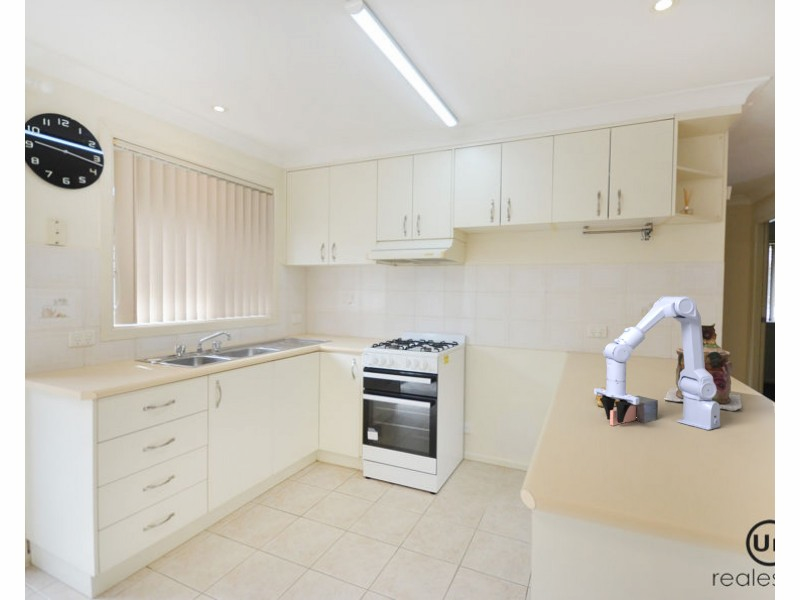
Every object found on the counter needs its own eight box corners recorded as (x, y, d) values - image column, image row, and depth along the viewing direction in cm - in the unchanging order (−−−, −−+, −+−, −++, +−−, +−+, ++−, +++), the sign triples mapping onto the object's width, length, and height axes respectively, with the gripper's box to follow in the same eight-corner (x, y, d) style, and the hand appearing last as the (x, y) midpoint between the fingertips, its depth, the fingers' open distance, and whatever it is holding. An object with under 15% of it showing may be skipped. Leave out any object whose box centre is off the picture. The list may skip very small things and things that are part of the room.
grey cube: (657, 419, 139) (657, 400, 139) (643, 423, 135) (644, 403, 135) (637, 414, 145) (638, 395, 145) (624, 417, 141) (624, 398, 141)
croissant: (606, 419, 151) (618, 402, 148) (583, 401, 157) (593, 385, 154) (626, 407, 165) (636, 391, 162) (603, 391, 172) (613, 376, 169)
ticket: (636, 419, 138) (636, 405, 138) (612, 425, 132) (613, 411, 132) (633, 419, 139) (633, 405, 139) (609, 424, 133) (610, 410, 133)
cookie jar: (669, 390, 182) (671, 319, 181) (740, 400, 166) (743, 323, 166) (662, 401, 163) (664, 322, 162) (742, 413, 147) (745, 326, 147)
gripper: (588, 376, 137) (587, 416, 138) (630, 385, 125) (629, 429, 125) (601, 374, 141) (600, 413, 141) (643, 383, 128) (642, 425, 128)
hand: (615, 420), depth 133 cm, fingers open, 3 cm apart
